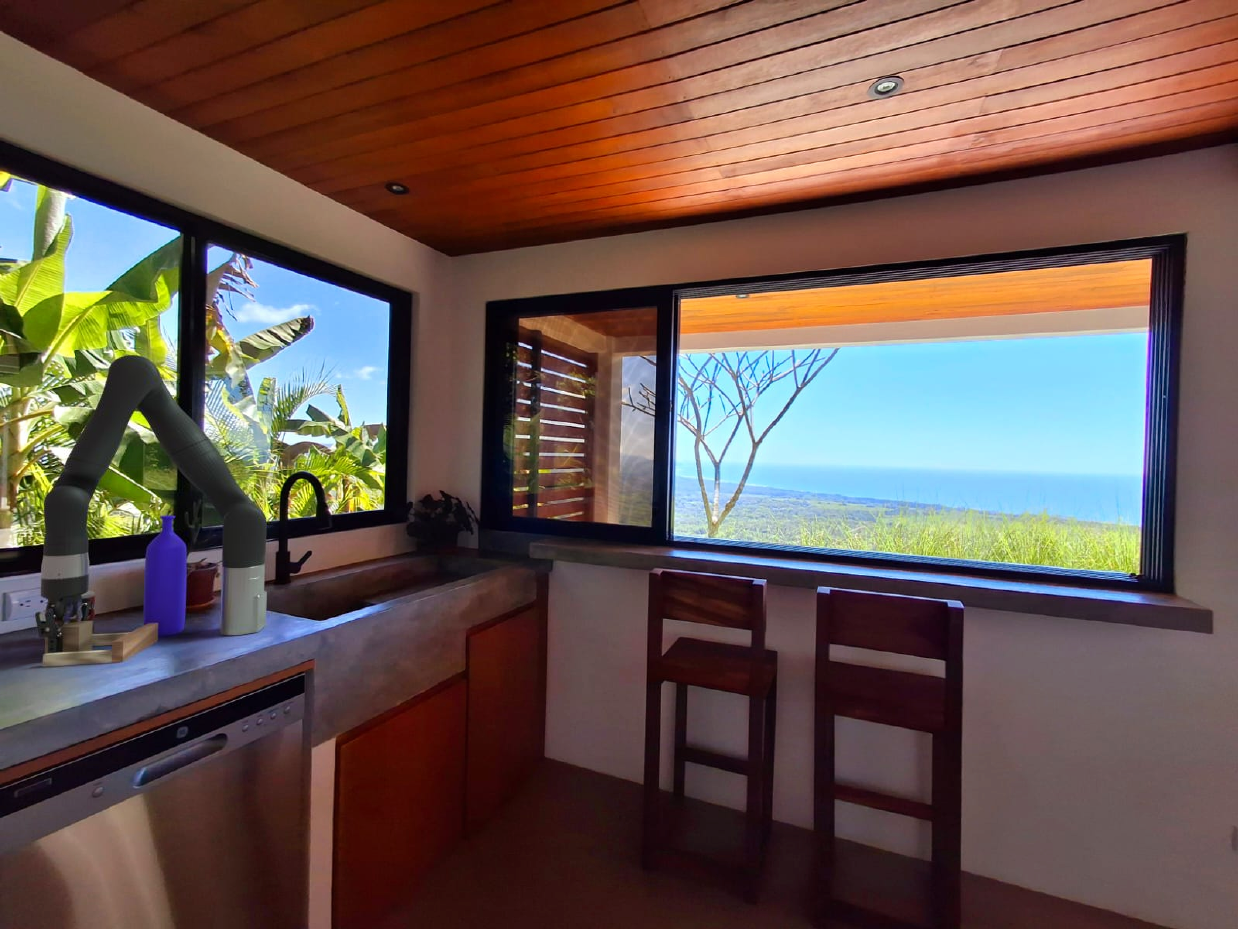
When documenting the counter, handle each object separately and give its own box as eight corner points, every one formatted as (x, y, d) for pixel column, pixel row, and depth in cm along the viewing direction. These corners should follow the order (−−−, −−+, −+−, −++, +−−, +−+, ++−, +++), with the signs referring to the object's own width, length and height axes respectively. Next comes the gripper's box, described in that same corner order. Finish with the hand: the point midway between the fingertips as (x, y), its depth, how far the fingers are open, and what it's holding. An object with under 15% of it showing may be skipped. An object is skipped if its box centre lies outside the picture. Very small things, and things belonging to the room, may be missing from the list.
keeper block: (91, 651, 124) (92, 620, 124) (78, 657, 120) (79, 626, 120) (59, 652, 122) (60, 622, 122) (44, 659, 118) (45, 628, 118)
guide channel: (157, 641, 131) (158, 622, 131) (122, 661, 118) (123, 641, 118) (87, 645, 127) (87, 626, 127) (42, 666, 114) (43, 645, 114)
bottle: (191, 630, 140) (195, 515, 140) (153, 639, 133) (156, 518, 133) (174, 625, 144) (177, 513, 144) (135, 634, 136) (139, 516, 136)
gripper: (63, 580, 115) (61, 660, 115) (106, 567, 129) (104, 638, 129) (19, 581, 113) (16, 662, 113) (67, 568, 126) (65, 640, 126)
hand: (63, 649), depth 121 cm, fingers closed on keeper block, 4 cm apart
